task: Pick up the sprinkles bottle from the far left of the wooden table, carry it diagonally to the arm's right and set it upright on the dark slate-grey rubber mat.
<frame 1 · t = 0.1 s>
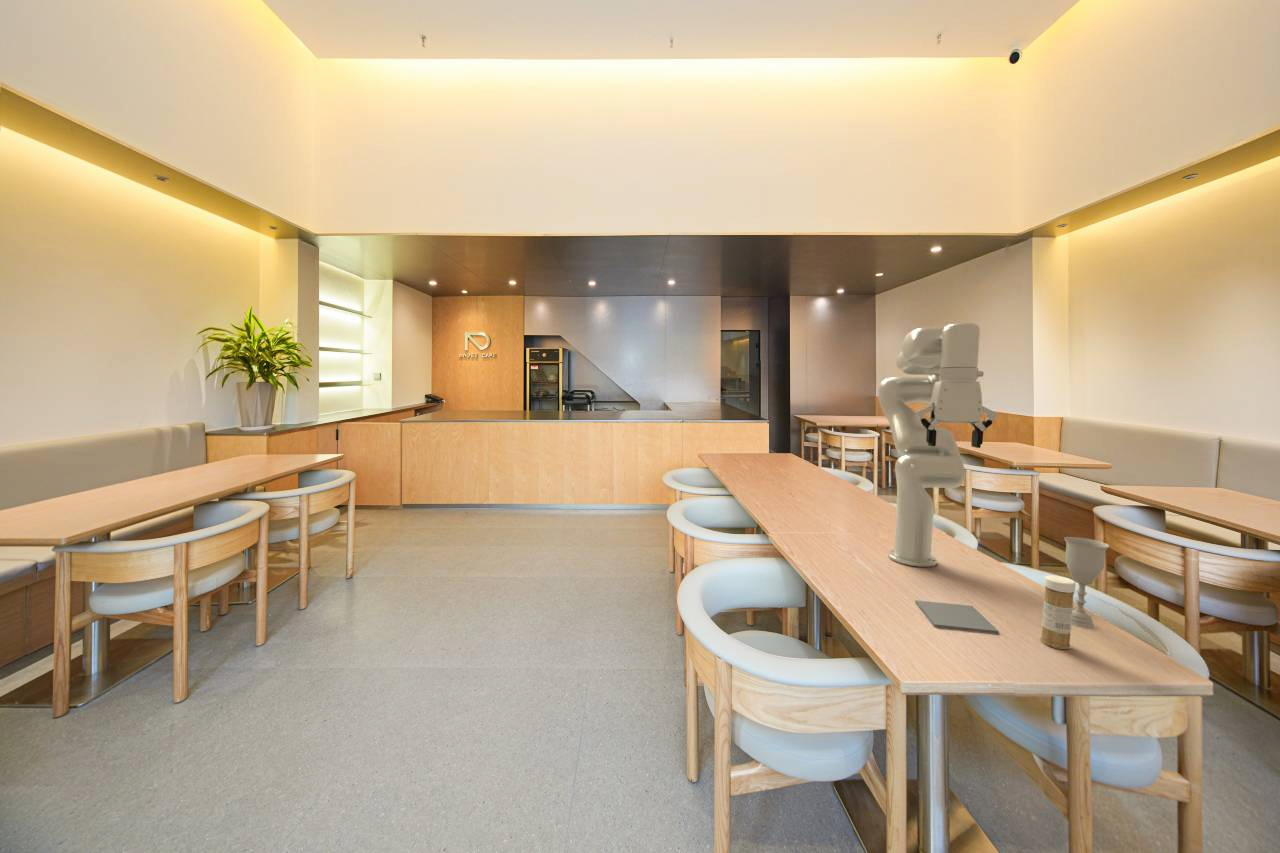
hand: (953, 446, 117), 37 cm above the table, tool pointing down, fingers open, 9 cm apart
chalice: (1078, 623, 105), on the table
slate mat: (954, 617, 107), on the table
sprinkles bottle: (1054, 645, 96), on the table
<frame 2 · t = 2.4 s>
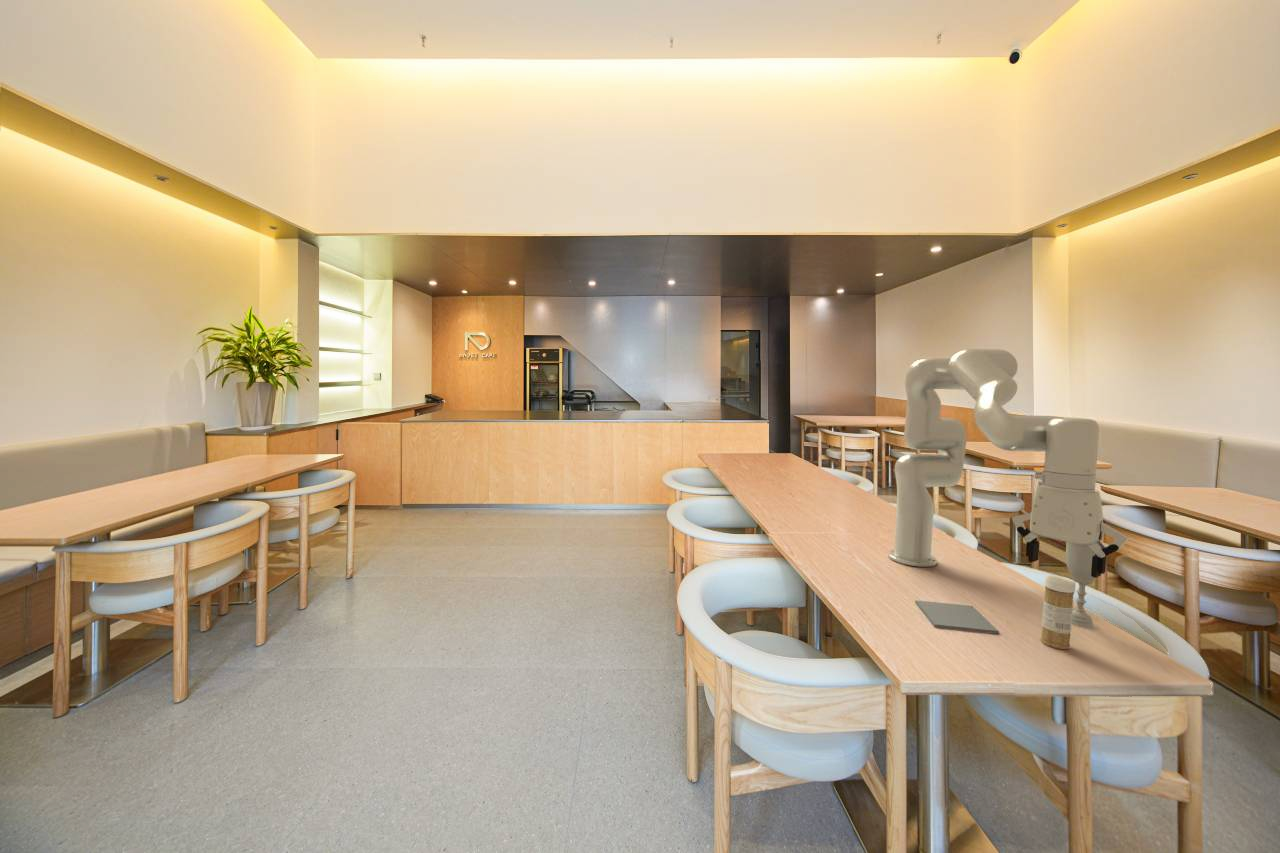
hand: (1063, 568, 94), 16 cm above the table, tool pointing down, fingers open, 9 cm apart
nothing on the table moved.
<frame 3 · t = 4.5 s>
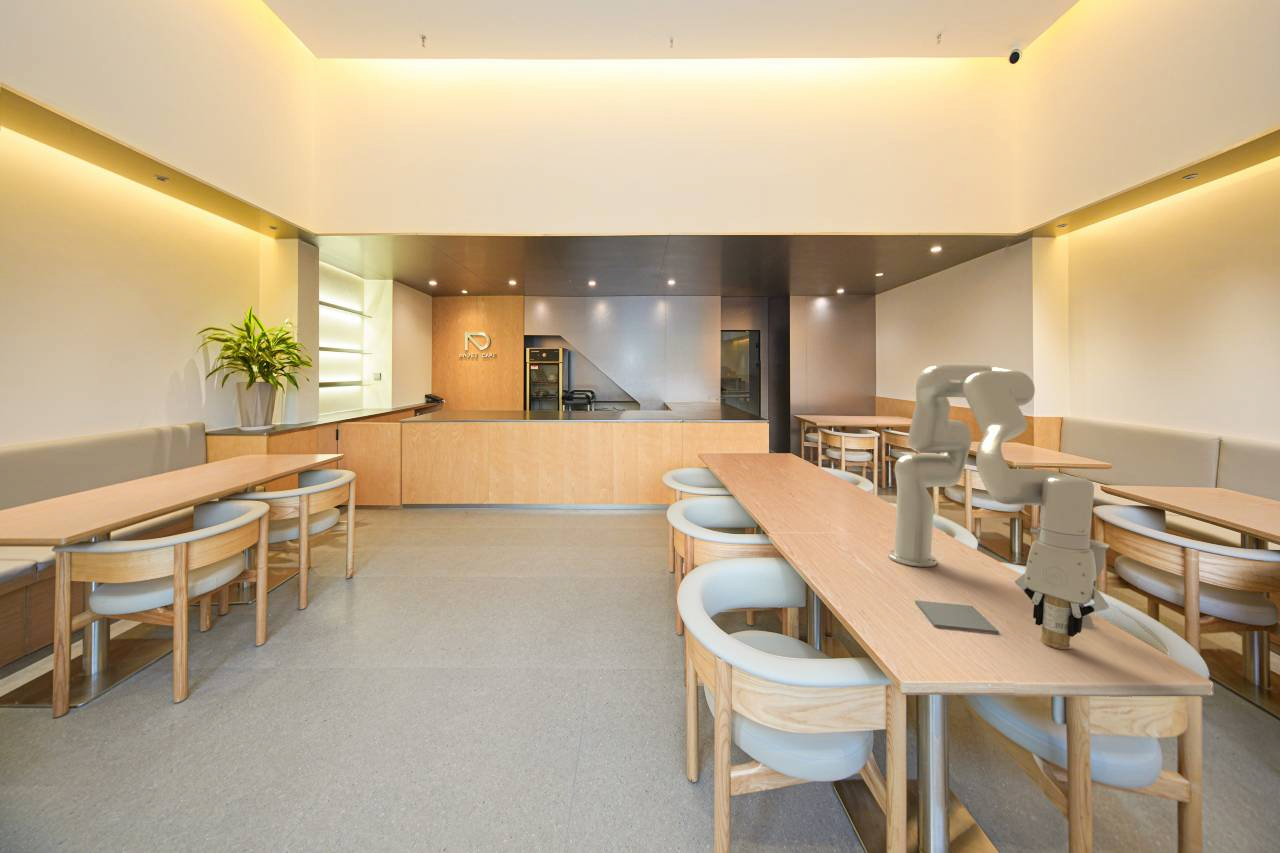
hand: (1056, 628, 96), 3 cm above the table, tool pointing down, fingers closed on sprinkles bottle, 4 cm apart
sprinkles bottle: (1054, 645, 96), on the table, touching gripper
everything else where it was.
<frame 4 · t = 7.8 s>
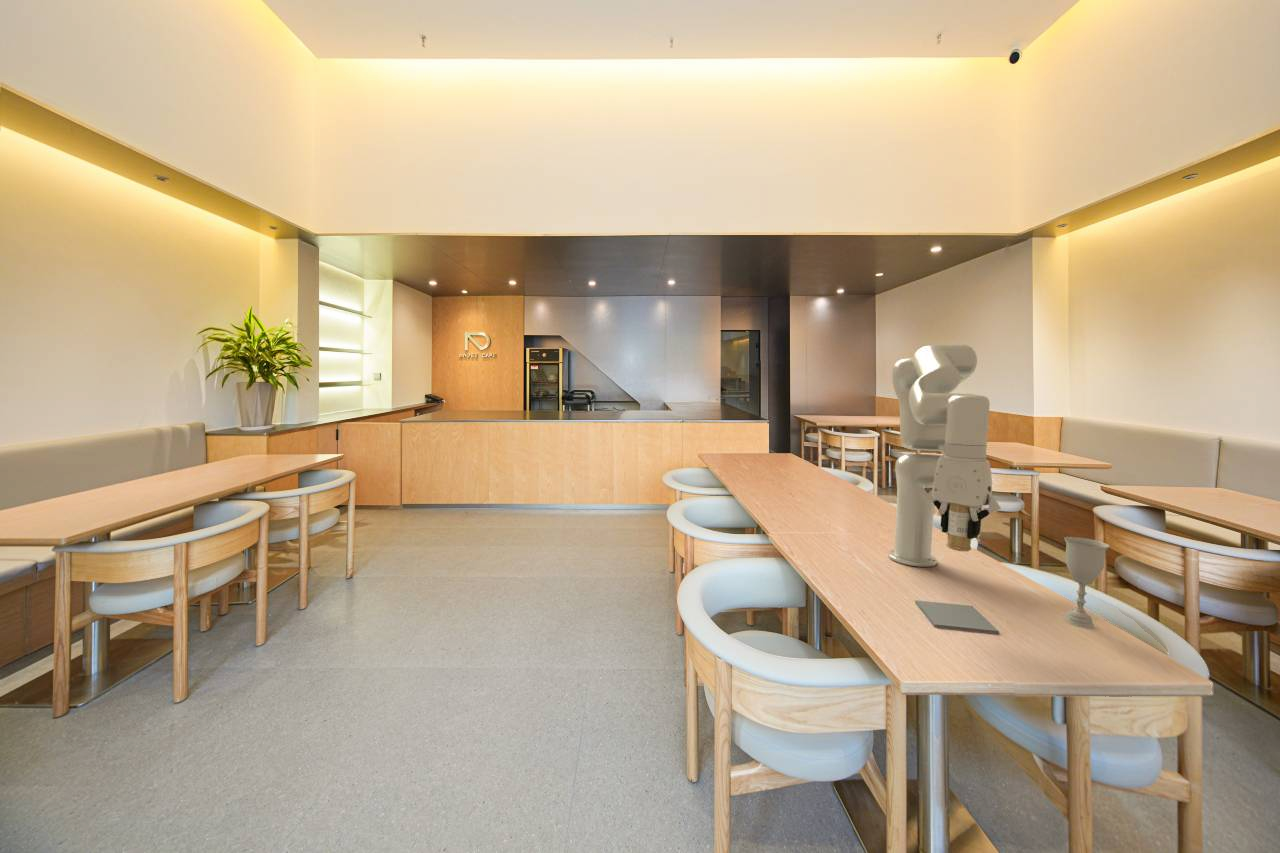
hand: (959, 533, 106), 19 cm above the table, tool pointing down, fingers closed on sprinkles bottle, 4 cm apart
sprinkles bottle: (958, 549, 106), point 15 cm above the table, touching gripper
everything else where it was.
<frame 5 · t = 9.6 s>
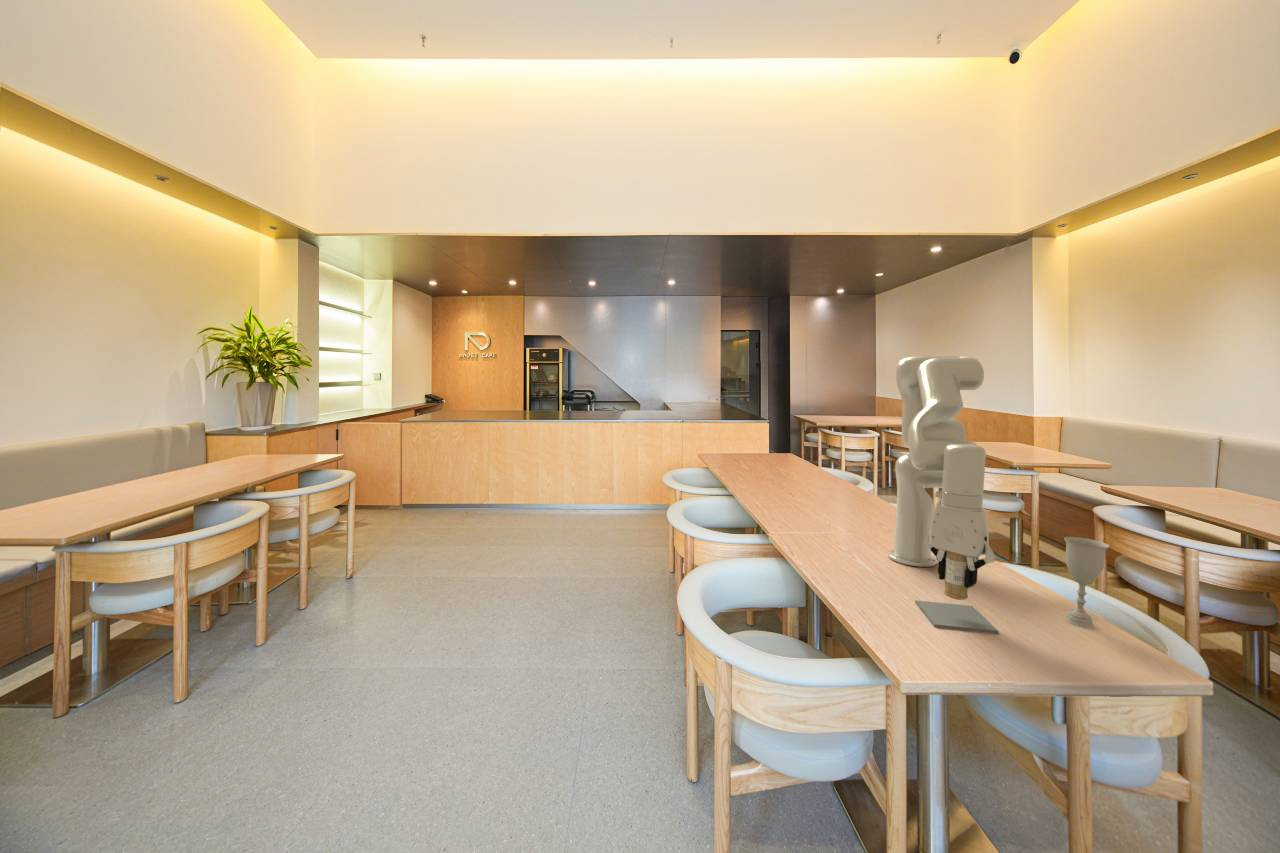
hand: (956, 581, 106), 8 cm above the table, tool pointing down, fingers closed on sprinkles bottle, 4 cm apart
sprinkles bottle: (955, 597, 107), point 5 cm above the table, touching gripper
everything else where it was.
when the fingers open (5 cm above the table, at t = 11.0 s): sprinkles bottle drops 1 cm, resting on slate mat.
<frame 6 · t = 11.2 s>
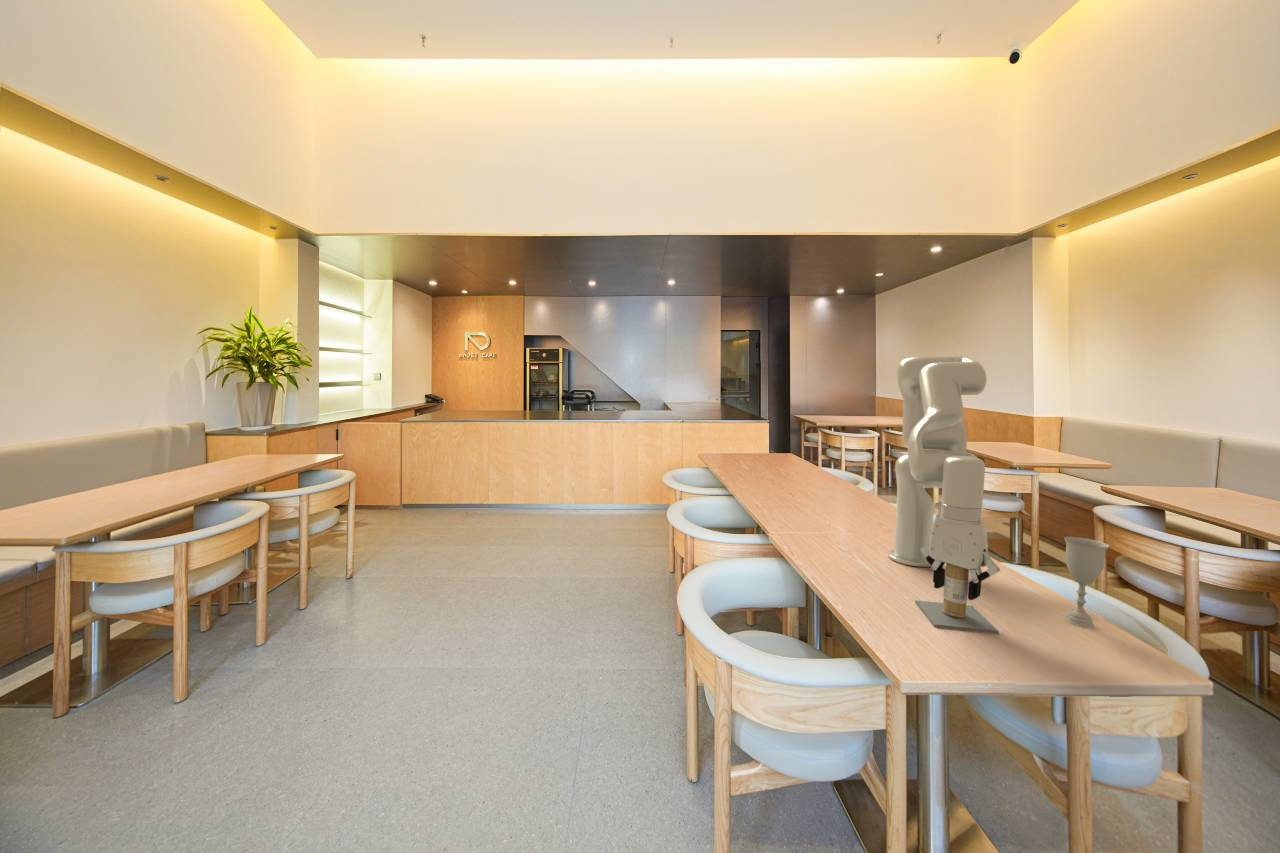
hand: (955, 591, 107), 6 cm above the table, tool pointing down, fingers open, 6 cm apart
sprinkles bottle: (953, 614, 107), resting on slate mat
everything else where it was.
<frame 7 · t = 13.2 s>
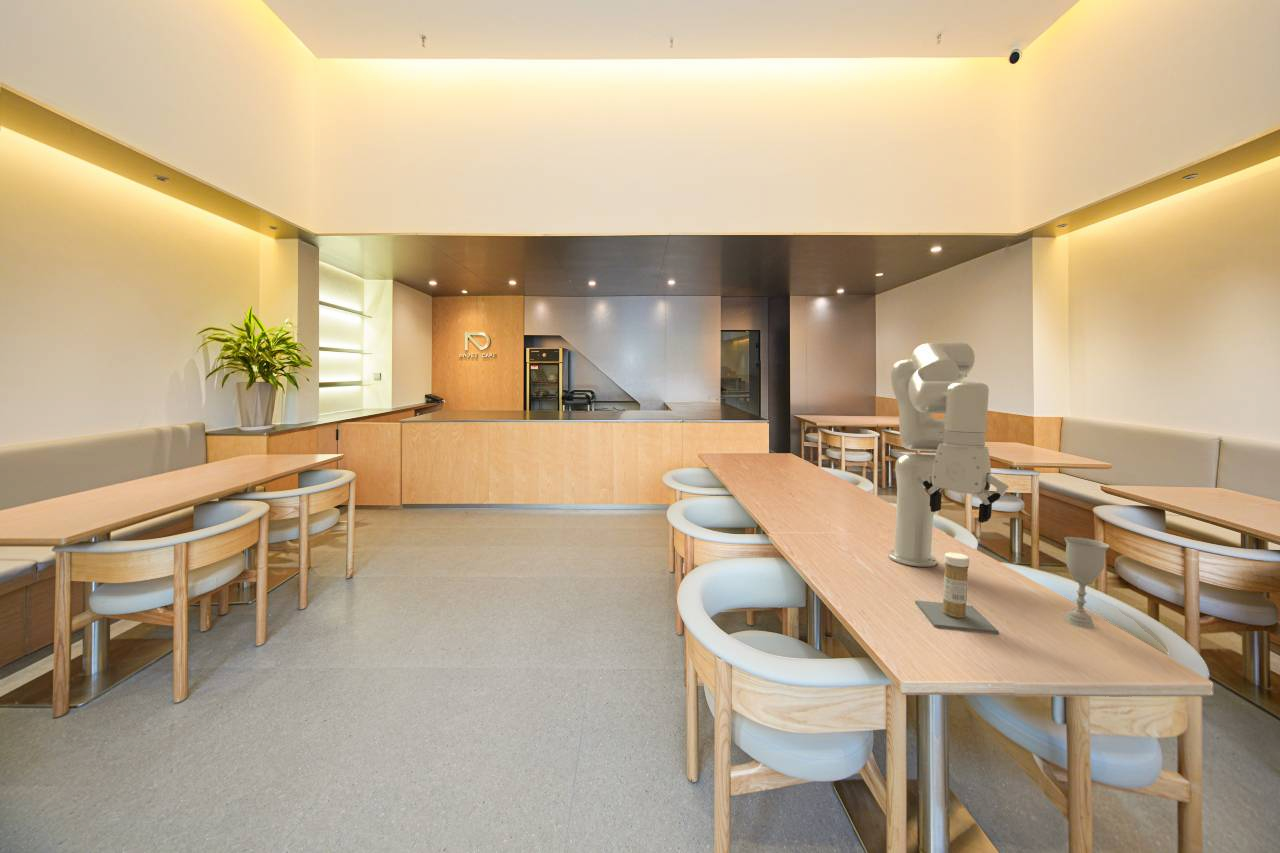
hand: (958, 516, 106), 23 cm above the table, tool pointing down, fingers open, 9 cm apart
nothing on the table moved.
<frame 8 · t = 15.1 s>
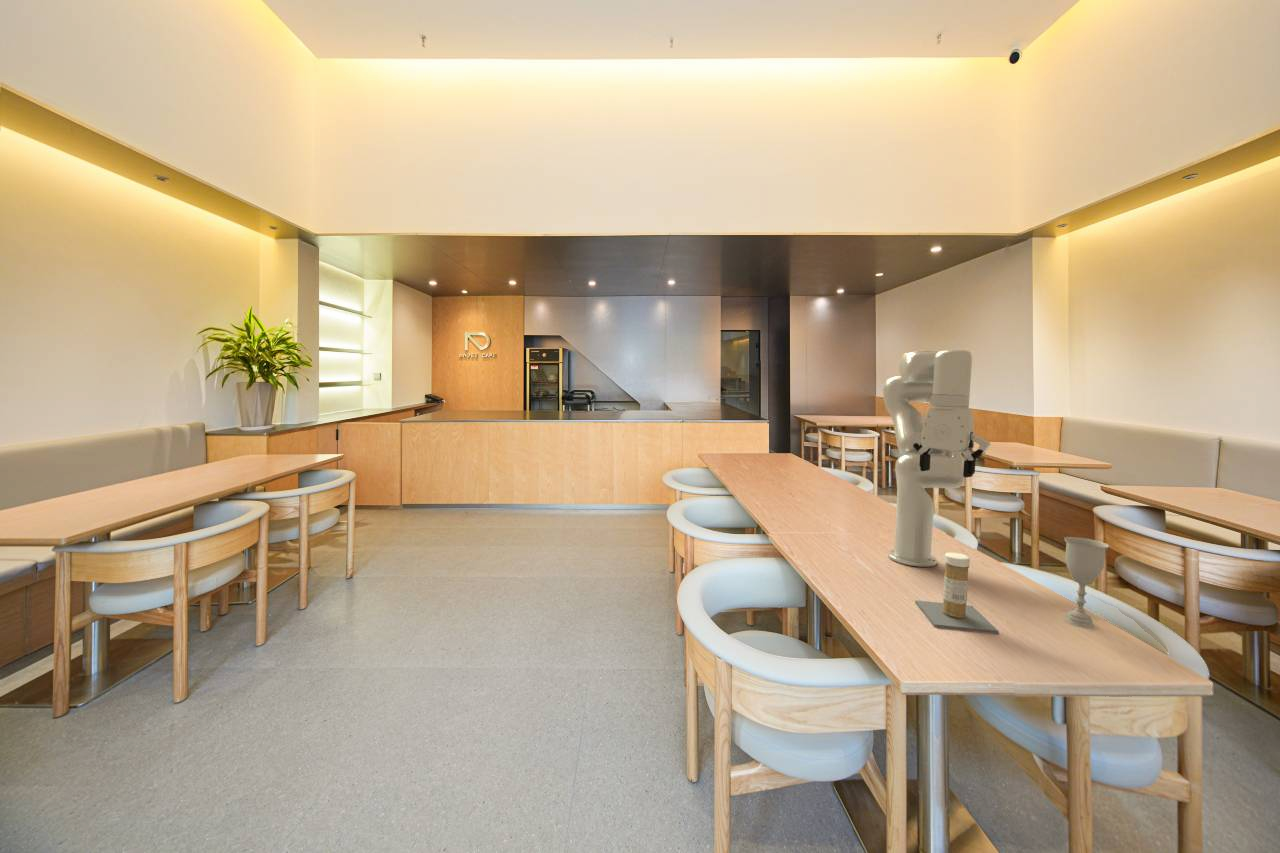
hand: (945, 473, 116), 30 cm above the table, tool pointing down, fingers open, 9 cm apart
nothing on the table moved.
at the end: sprinkles bottle inside the target area on the slate mat (0.2 cm from its centre), point 0.4 cm above the slate mat's base; sprinkles bottle tilted 0°; the gripper is holding nothing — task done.
